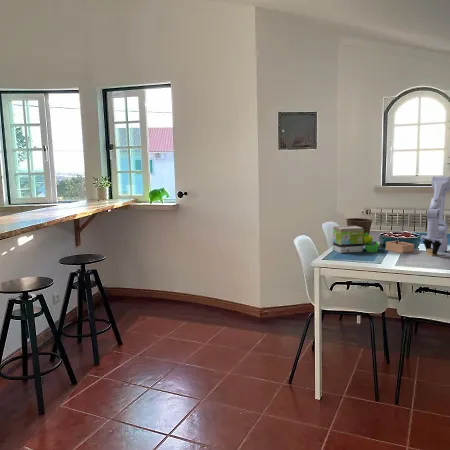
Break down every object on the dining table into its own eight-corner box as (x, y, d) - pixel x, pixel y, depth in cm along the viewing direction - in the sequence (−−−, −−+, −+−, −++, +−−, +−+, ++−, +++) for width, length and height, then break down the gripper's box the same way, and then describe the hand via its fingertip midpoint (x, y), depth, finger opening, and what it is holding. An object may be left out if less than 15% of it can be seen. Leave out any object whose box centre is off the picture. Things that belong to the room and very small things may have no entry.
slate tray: (398, 248, 283) (398, 247, 283) (420, 253, 268) (421, 252, 268) (383, 250, 278) (383, 249, 278) (405, 255, 263) (405, 254, 263)
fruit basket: (379, 253, 269) (379, 234, 268) (363, 253, 271) (363, 234, 270) (376, 249, 280) (377, 231, 279) (361, 249, 282) (362, 231, 281)
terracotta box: (397, 248, 281) (397, 240, 281) (413, 252, 270) (414, 244, 269) (385, 249, 278) (385, 242, 277) (402, 253, 266) (402, 245, 265)
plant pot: (368, 242, 306) (369, 217, 303) (374, 246, 290) (375, 221, 287) (343, 241, 307) (344, 217, 305) (347, 246, 291) (348, 221, 289)
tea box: (340, 253, 271) (341, 228, 269) (332, 250, 281) (332, 226, 278) (363, 251, 275) (364, 227, 273) (354, 248, 285) (355, 225, 282)
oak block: (431, 254, 264) (431, 248, 263) (437, 256, 260) (437, 249, 260) (426, 255, 262) (426, 248, 262) (431, 257, 259) (432, 250, 258)
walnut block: (402, 249, 274) (403, 243, 273) (408, 251, 270) (408, 244, 269) (397, 250, 272) (397, 243, 271) (402, 251, 268) (403, 244, 268)
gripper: (417, 228, 264) (416, 251, 266) (438, 232, 251) (437, 256, 253) (426, 227, 267) (425, 250, 269) (447, 231, 254) (446, 255, 256)
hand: (431, 253), depth 261 cm, fingers closed on oak block, 4 cm apart
